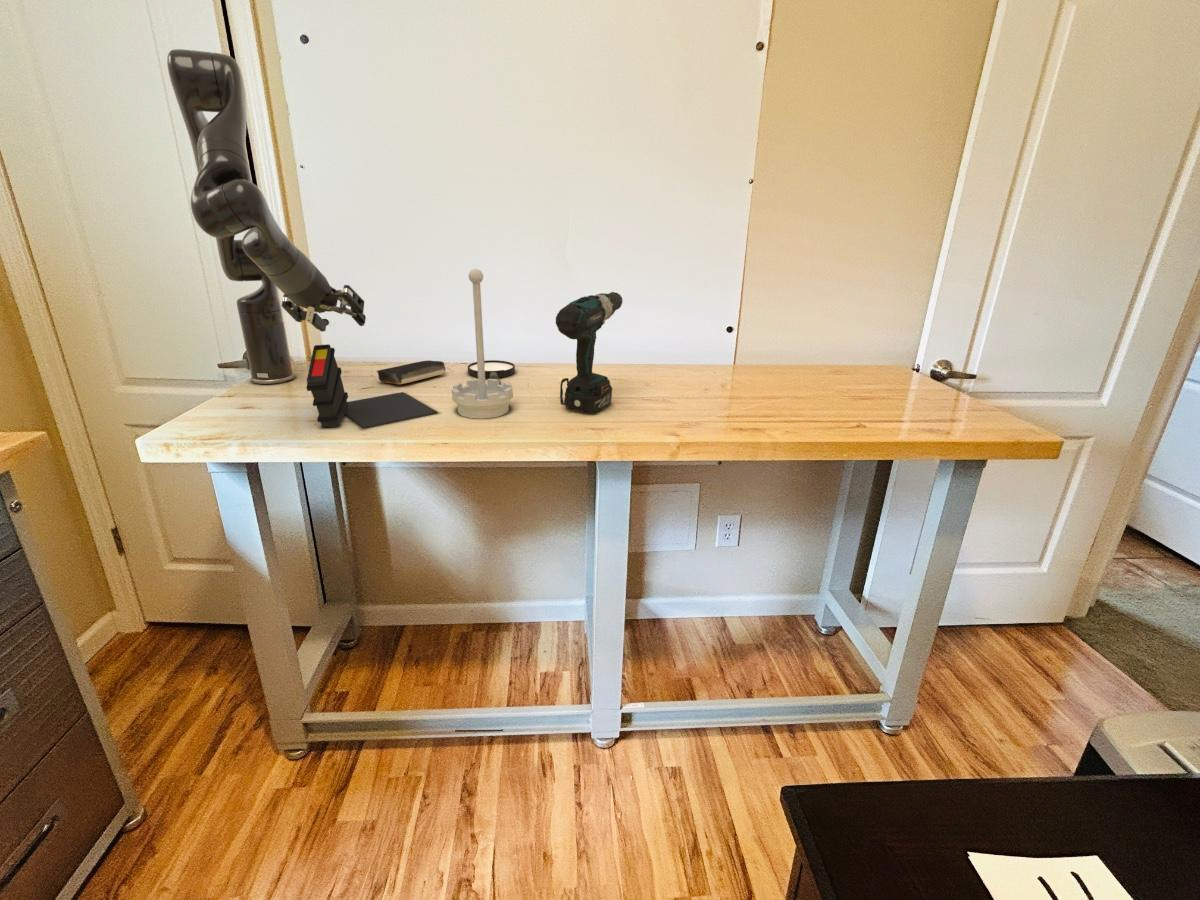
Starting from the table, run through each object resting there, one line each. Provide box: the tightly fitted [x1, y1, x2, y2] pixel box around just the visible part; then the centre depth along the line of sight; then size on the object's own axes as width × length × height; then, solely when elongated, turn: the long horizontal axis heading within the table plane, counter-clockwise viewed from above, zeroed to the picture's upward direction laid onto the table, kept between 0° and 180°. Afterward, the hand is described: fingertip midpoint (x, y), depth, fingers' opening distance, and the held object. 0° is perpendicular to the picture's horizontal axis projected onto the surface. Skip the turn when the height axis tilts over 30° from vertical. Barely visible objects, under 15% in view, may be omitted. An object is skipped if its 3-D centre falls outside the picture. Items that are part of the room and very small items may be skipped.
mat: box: [344, 391, 438, 429], centre depth 132 cm, size 18×16×1 cm
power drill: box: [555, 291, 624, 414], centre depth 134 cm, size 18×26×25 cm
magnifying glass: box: [467, 359, 516, 385], centre depth 157 cm, size 12×24×2 cm, turn 14°
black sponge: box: [376, 360, 446, 385], centre depth 154 cm, size 16×8×4 cm, turn 143°
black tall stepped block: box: [306, 343, 349, 429], centre depth 123 cm, size 4×13×15 cm, turn 9°
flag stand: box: [451, 268, 514, 419], centre depth 127 cm, size 13×13×30 cm
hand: (343, 325), depth 124 cm, fingers open, 8 cm apart
